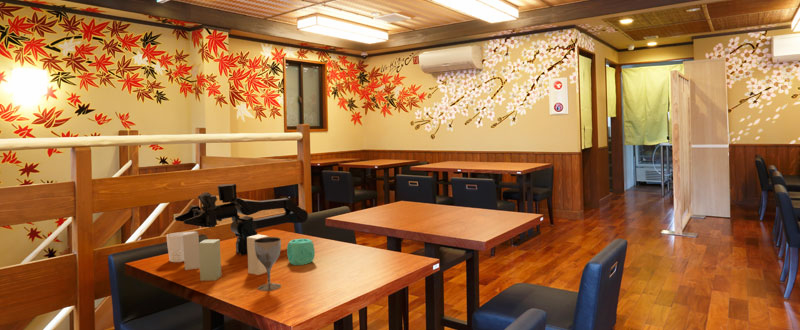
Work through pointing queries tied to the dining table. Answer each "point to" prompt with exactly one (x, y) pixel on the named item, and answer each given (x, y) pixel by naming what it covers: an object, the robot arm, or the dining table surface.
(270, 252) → the wine glass
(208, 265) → the sage block
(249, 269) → the cream block
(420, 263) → the dining table surface
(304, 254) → the decorative dice
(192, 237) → the pale pink tall block
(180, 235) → the white cup
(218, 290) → the dining table surface
